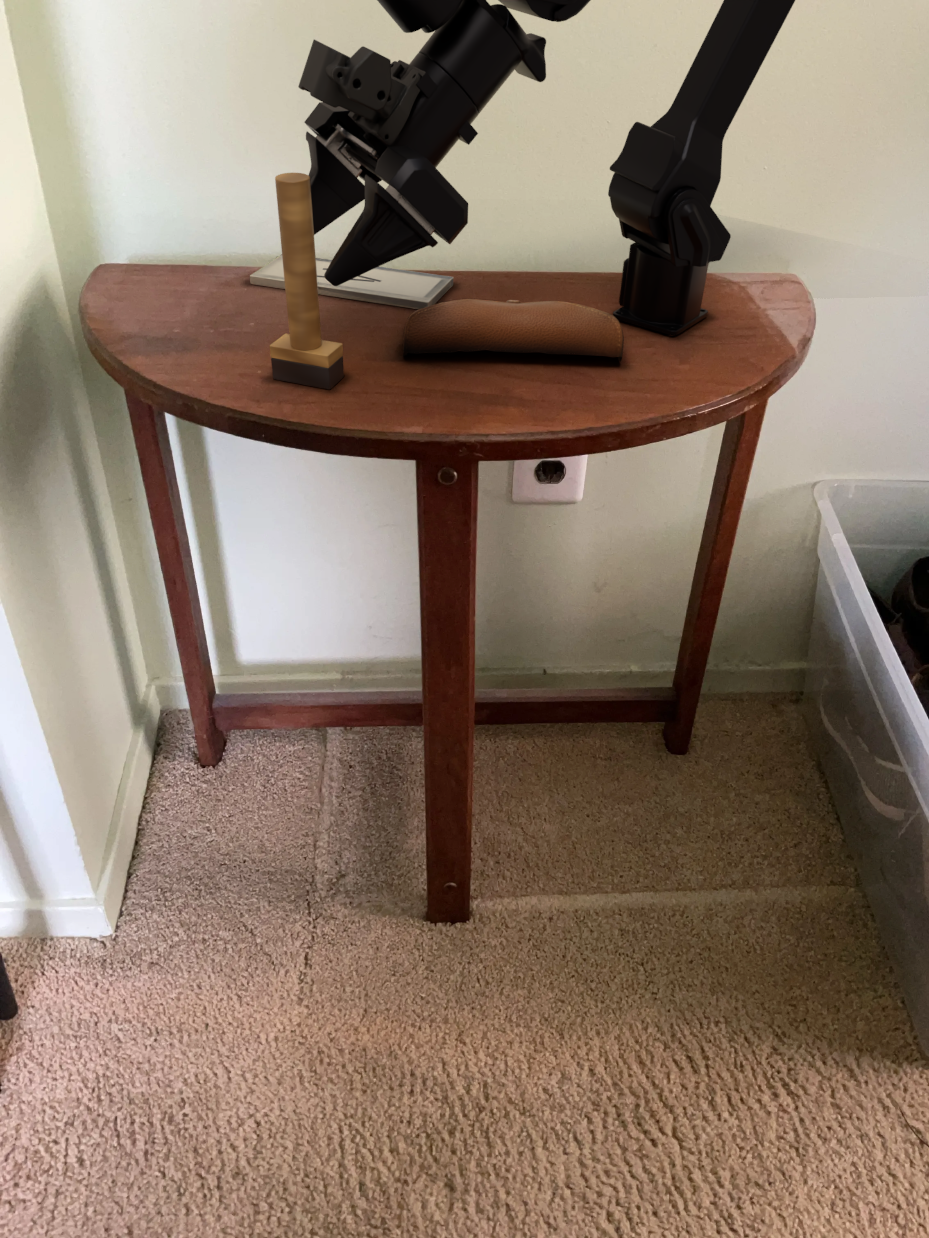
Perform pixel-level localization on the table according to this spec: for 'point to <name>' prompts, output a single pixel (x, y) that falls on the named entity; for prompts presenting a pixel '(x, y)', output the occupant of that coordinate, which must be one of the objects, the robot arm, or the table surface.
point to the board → (368, 284)
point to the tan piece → (302, 294)
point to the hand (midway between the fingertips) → (308, 261)
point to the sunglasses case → (513, 328)
